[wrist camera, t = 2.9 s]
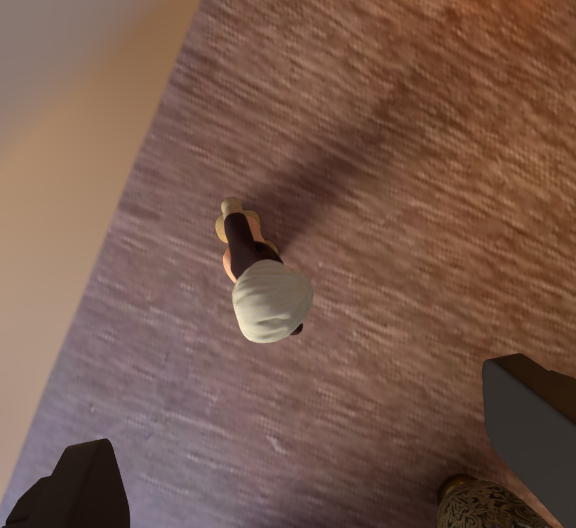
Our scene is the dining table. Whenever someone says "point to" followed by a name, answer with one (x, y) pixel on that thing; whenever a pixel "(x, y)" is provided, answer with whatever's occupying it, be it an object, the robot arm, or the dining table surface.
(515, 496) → the cup
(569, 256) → the dining table surface
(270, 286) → the grandmother figurine
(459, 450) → the dining table surface
